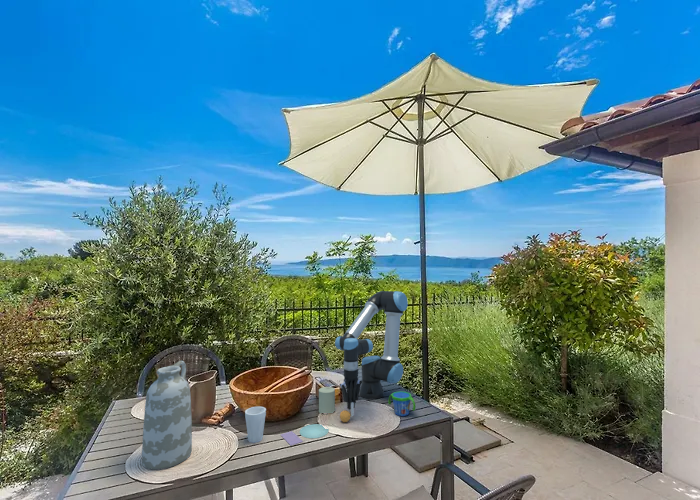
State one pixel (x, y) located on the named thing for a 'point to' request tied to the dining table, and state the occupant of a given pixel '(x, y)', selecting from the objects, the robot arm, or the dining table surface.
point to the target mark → (313, 431)
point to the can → (326, 400)
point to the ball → (345, 416)
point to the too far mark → (291, 438)
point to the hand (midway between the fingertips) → (351, 415)
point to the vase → (167, 420)
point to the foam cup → (255, 423)
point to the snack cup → (401, 402)
